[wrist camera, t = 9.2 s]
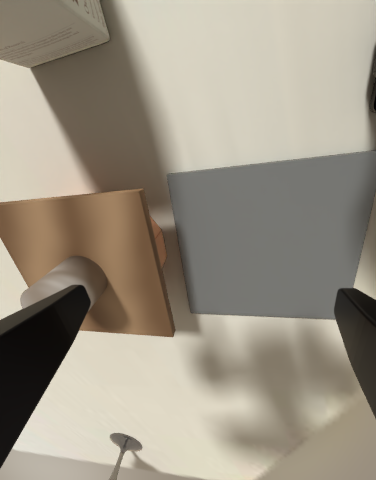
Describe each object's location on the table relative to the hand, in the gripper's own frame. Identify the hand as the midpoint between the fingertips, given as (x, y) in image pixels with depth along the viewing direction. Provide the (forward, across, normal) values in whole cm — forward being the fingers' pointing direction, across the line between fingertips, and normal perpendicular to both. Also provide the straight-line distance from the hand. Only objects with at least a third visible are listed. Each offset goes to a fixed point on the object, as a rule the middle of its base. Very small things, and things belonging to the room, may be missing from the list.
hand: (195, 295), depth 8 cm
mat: (+12, -4, +5) cm, 13 cm away
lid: (+8, +11, +4) cm, 14 cm away
